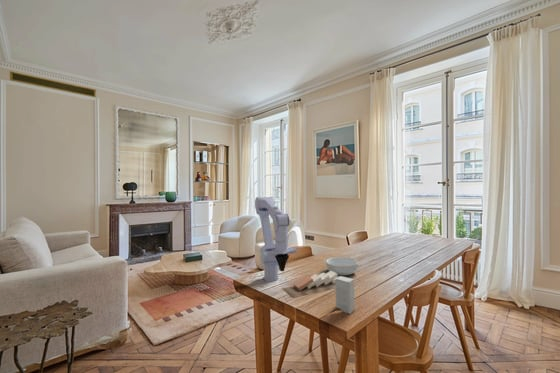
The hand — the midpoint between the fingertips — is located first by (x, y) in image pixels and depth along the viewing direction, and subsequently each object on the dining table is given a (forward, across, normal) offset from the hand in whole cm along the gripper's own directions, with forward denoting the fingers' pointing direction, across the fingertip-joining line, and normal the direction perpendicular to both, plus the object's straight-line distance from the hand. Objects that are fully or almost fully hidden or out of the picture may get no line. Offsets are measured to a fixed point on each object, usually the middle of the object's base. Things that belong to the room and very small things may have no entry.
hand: (281, 270), depth 115 cm
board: (+10, +13, -4) cm, 17 cm away
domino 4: (+8, +25, -2) cm, 26 cm away
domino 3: (+8, +20, -2) cm, 22 cm away
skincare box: (+10, +15, -26) cm, 31 cm away
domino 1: (+8, +11, -2) cm, 14 cm away
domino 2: (+8, +16, -2) cm, 18 cm away
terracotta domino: (+8, +6, -2) cm, 10 cm away
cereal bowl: (+10, +39, +7) cm, 41 cm away
